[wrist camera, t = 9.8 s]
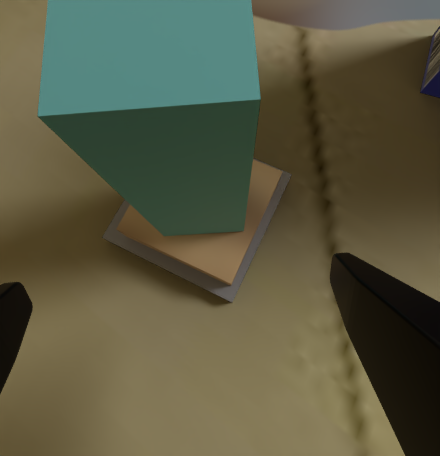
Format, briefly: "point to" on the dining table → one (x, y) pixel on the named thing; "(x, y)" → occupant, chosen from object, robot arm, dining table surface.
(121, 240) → the base slab
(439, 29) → the cereal box
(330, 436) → the dining table surface
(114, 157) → the pillar
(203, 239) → the top slab
